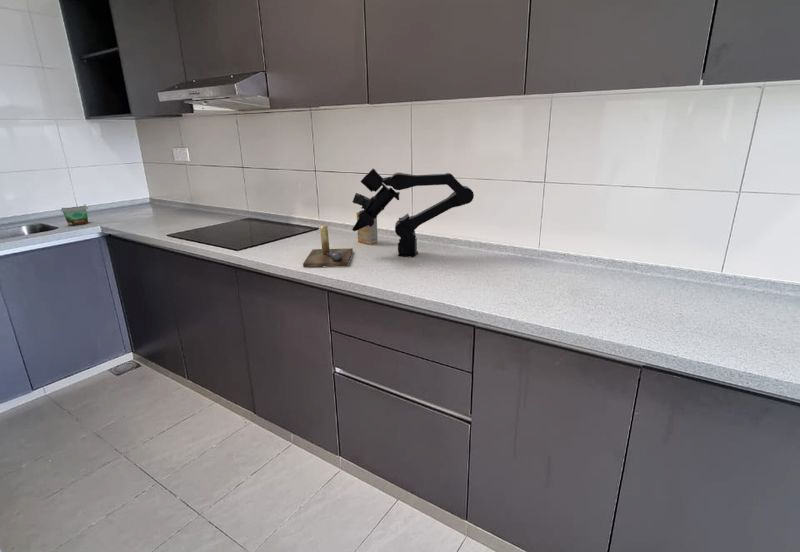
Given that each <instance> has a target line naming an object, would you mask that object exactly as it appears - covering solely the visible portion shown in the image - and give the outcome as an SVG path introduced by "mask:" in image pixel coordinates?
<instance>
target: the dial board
mask: <svg viewBox="0 0 800 552" xmlns="http://www.w3.org/2000/svg"><path fill="white" fill-rule="evenodd" d="M321 249H322V248H319V249H318V248H317V249H315V248H313V249H312V250H311V251H310V252H309V254H308V256H306V259H305V260H304V261H303V262H302V265H303V266H302V268H303V267H309V268H324V267H323V266H348V267H349V265H348V264H350V262H349V261H351V259H350V258H352V256H351V255H353V253H352V252H354V250H353V247H351V248H350V247H349V248H329V250H330V252H332V253H334V252H341V253H342V260H341V261H333V260H332V258H331V257H330V256H328V255H326V254H323V253H322V250H321Z"/></svg>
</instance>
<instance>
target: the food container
mask: <svg viewBox="0 0 800 552" xmlns="http://www.w3.org/2000/svg"><path fill="white" fill-rule="evenodd" d="M87 209H88V206H87V204H84V205H81V206H80V205H79V206H71V207H61V209H60V211H61V212H62V213H63V216H64V218H65V221H66V223H67V226H68V225H69V227H70V226H71V227H72V226H73V227H75V226H74V225H77V226H84V225H87V224H89V218H88V210H87Z"/></svg>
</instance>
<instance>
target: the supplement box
mask: <svg viewBox="0 0 800 552" xmlns="http://www.w3.org/2000/svg"><path fill="white" fill-rule="evenodd" d="M359 212H360V211H358V212H356V222H357V221H358V219H359V216H358V214H359ZM374 219H375V222H374V224H373V225H372V226H371V227H370V226H366V227H363V228H361V229H359V230H357V231H356V232H357V242H358V243H361V242H362V244H365V243H366V244H365V245H369V244H372V245H375V244H374V243H376V244H378V243H377V242H379V241H378V240H379V239H378V216H377V217H376V218H374Z"/></svg>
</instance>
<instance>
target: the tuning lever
mask: <svg viewBox="0 0 800 552" xmlns="http://www.w3.org/2000/svg"><path fill="white" fill-rule="evenodd" d="M319 228H320V231H319V232H320V240H321V243H320V244H321V248H320V249H321V250H322V253H323V254H326V255H328V256H330V257H331V258H332V260H333V261H341V260H342V253H341V252H334V253H332V252H330V250H329V249H330V241H329V238H330V237H329V229H328V225H325V224H323V225H320V226H319Z"/></svg>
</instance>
